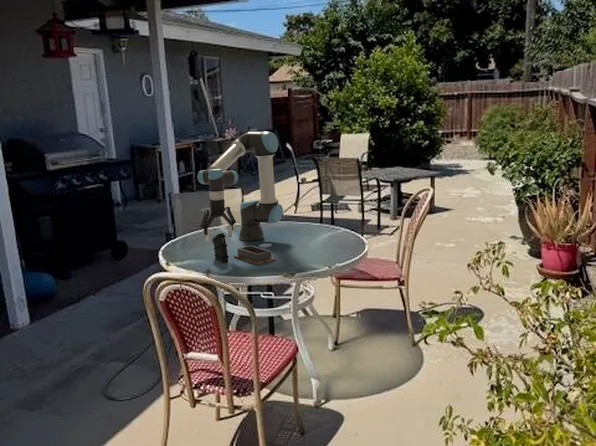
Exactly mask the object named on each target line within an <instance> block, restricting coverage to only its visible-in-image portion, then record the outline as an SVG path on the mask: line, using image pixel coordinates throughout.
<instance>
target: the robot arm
mask: <svg viewBox="0 0 596 446" xmlns="http://www.w3.org/2000/svg"><path fill="white" fill-rule="evenodd" d="M278 147H279V141H278V137H277V135H276V134H275V133H274V132H271V131H267V130H266V131H247V132H245V133H243V134H241V135H240V136H238V137H237V138H235V139H234V140H233V141H232V142H231V144H230V146H229V148H228V149H226V150H225V152H223V153H222V154H221V156H219V158H217V159H216V160H215V161H213V163H211V165H210V166H209V167H208V168H207V169H203V170H199V171H198V173H197V175H196V176H197V177H196V178H197V181H198V182H199V183H200V184H201V185H208V188H209V189H208V191H209V192H208V194H209V195H208V196H209V208H210V209H205V210H204V214H203V218H202V221H201V223H200V226H199V228H200V229H203V234H204V236H205V242H208V243H209V242H210V239H211V238H210V229H209V227H210V226H211V224H212V222H213V221H214V219H215V218H219V217H220V218H221V217H222V218H223V219H224V220H225V221H226V222H227V237H228V238H233V231H234V226H235V224H236V223H237V221H236V219H235V217H234V215H233V213H232V211H231V207H230V206H226V204H225V203H226V202H225V199H224V198H225V187H226V186H233V185H235V184H236V183H238V181H239V174H238V173H237V171H235V170H231V169H230V170H227V169H229V168H230V167H231V166H232V165H233V163H235V162H236V160H238V159H239V158H240V157H243V156H244V155H246V154H247V153H254V157H256V159H257V167H258V178H259V179H258V180H259V181H258V182H259V190H260V193H259V194H260V199H252V200H246V201H243V202H241V203H240V205H239V206H240V208H239V211H240V225H241V227H240V231H239V234H238V239H239V240H240V241H244V242H251V241H259V240H263V239H264V235H265V234H264V231H263V229H262V226H261V223H262V224H263V223H264V224H270V225H271V224H277V223H279V222H280V221H281V219H282V218H283V214H284V208H283V206H282V204H280V203H279V199H278V198H276V190H275V189H276V188H275V187H276V185H275V176H274V175H275V174H274V161H273V157H274V156H275V155H276V152H277V151H278ZM225 212H226V213H225Z"/></svg>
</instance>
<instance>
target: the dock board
mask: <svg viewBox="0 0 596 446" xmlns="http://www.w3.org/2000/svg"><path fill="white" fill-rule="evenodd" d="M233 256H234V258H235V259H238V260H241V261H244V262H246V263H250V264H253V265H254V266H255V265H256V266H259V265H263V264H267V263H271V262H274V261H275V262H276V260H277V259H276V258H274V257H272V256H271V259H268V260H264V261H260V262H256V261H253V260H250V259H247V258H244V257H241V256H238V254H235V255H233Z"/></svg>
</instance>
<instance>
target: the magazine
mask: <svg viewBox="0 0 596 446" xmlns="http://www.w3.org/2000/svg"><path fill="white" fill-rule="evenodd" d="M211 242H212V243H213V246H214V247H213V250H214V254H213V256H214V257H215V260H217V261H218V262H220V263H222V264H226V263H229V256H230V255H228V248H227V247H228V244H227V241H226V234H225V233H224V232H221V233H217V234H216V235H215V236H214V237H213V238H212V240H211Z"/></svg>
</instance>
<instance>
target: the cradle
mask: <svg viewBox="0 0 596 446" xmlns="http://www.w3.org/2000/svg"><path fill="white" fill-rule="evenodd" d="M237 255H238V256H241V257H244V258H247V259H250V260H253V261H256V262H260V261H264V260H268V259H271V257H272V251H271V250H268V249H266V248H262V247H258V246H255V245H247V246H246V245H245V246H242V247H238V248H237Z"/></svg>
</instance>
